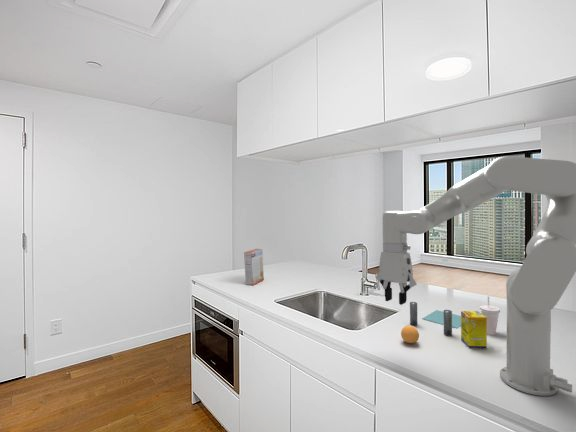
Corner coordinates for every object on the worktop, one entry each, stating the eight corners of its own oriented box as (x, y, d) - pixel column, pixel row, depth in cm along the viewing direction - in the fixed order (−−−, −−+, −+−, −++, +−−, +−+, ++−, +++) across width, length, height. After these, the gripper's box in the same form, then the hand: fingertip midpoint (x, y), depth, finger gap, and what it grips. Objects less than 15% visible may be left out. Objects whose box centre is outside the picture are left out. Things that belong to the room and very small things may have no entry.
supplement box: (460, 340, 112) (460, 310, 111) (478, 340, 111) (478, 310, 111) (468, 348, 106) (468, 316, 106) (487, 348, 106) (487, 317, 105)
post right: (453, 334, 117) (453, 310, 117) (450, 336, 115) (450, 312, 115) (445, 332, 119) (445, 309, 119) (442, 334, 117) (442, 311, 117)
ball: (422, 342, 111) (422, 326, 111) (414, 348, 107) (413, 331, 107) (406, 337, 116) (406, 321, 115) (397, 342, 112) (397, 326, 112)
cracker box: (256, 279, 208) (255, 248, 207) (264, 280, 206) (263, 248, 205) (244, 284, 196) (243, 251, 195) (253, 285, 193) (251, 252, 192)
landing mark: (470, 318, 131) (470, 318, 131) (457, 328, 122) (457, 327, 122) (436, 310, 142) (436, 310, 142) (422, 318, 133) (422, 318, 133)
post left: (418, 324, 127) (418, 302, 127) (415, 326, 125) (415, 304, 125) (412, 322, 129) (411, 301, 129) (408, 324, 127) (408, 302, 127)
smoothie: (475, 330, 120) (475, 294, 120) (491, 329, 121) (491, 293, 120) (487, 337, 114) (487, 299, 113) (504, 336, 114) (504, 298, 114)
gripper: (425, 248, 100) (425, 305, 101) (378, 244, 112) (379, 294, 113) (413, 252, 95) (414, 311, 96) (366, 246, 107) (367, 299, 108)
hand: (395, 301), depth 104 cm, fingers open, 4 cm apart
